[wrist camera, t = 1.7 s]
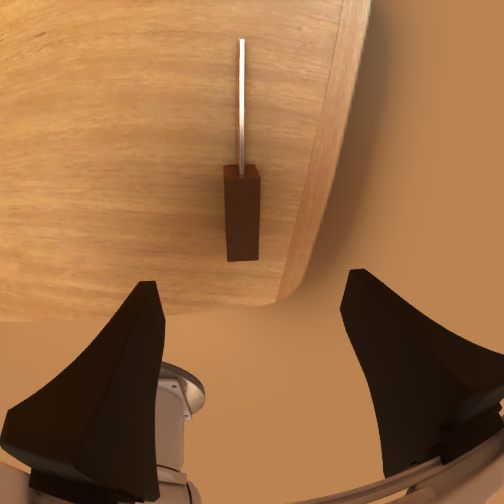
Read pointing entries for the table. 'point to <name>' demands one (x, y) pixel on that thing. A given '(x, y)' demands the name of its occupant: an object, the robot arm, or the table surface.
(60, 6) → the table surface
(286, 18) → the table surface
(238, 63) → the knife
